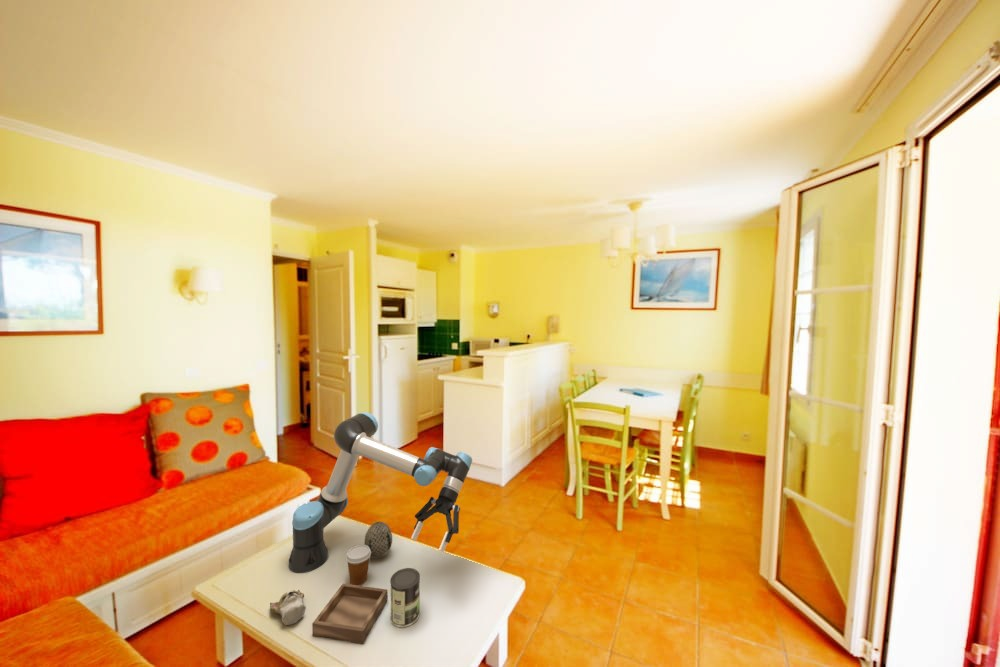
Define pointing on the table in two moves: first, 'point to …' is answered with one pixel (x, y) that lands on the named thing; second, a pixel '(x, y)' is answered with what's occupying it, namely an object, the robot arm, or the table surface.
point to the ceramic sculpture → (290, 607)
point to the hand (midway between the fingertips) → (426, 545)
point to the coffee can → (405, 597)
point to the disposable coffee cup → (358, 563)
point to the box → (350, 613)
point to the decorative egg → (378, 539)
